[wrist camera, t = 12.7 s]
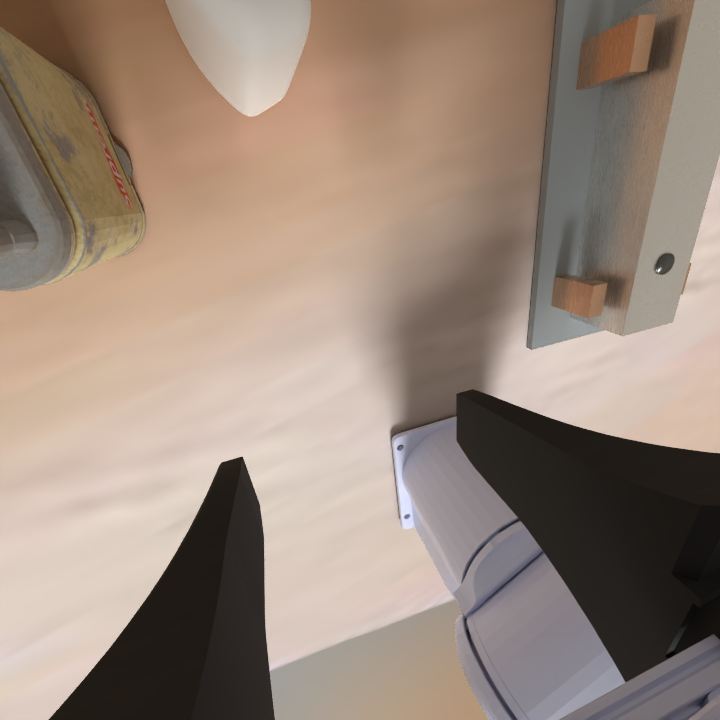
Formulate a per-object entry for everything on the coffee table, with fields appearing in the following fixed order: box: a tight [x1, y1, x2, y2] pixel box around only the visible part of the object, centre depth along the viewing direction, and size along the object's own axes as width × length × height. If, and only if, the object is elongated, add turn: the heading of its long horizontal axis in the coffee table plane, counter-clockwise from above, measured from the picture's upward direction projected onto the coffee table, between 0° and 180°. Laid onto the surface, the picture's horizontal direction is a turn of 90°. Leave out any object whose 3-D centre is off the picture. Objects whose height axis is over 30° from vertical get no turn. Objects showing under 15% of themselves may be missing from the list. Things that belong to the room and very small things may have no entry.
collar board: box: [527, 0, 691, 350], centre depth 21 cm, size 20×10×4 cm, turn 7°
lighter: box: [0, 27, 146, 291], centre depth 10 cm, size 7×4×10 cm, turn 11°
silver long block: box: [570, 0, 720, 336], centre depth 20 cm, size 16×4×4 cm, turn 7°
